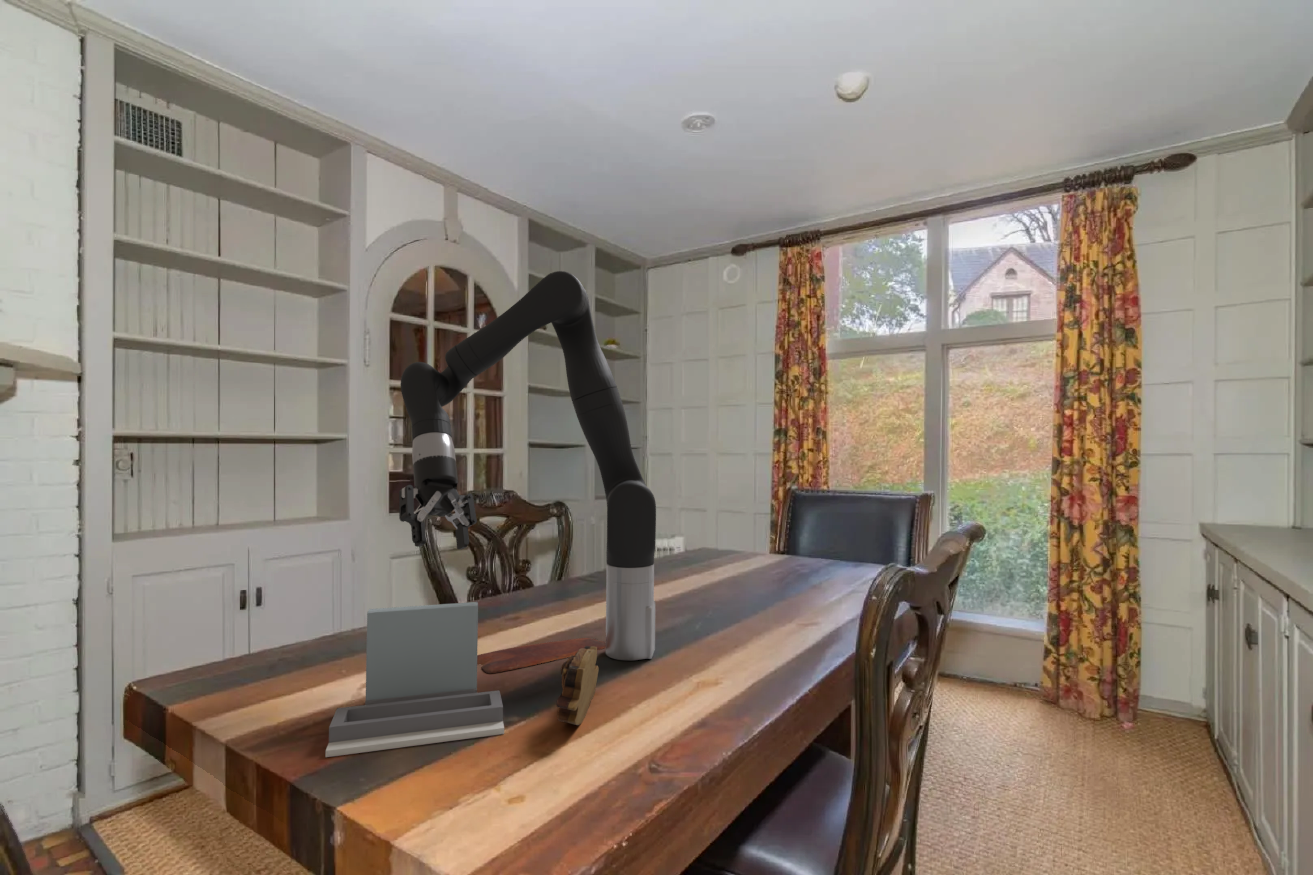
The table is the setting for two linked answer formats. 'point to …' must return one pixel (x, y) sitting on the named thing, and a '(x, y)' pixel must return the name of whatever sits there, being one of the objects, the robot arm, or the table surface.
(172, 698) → the table surface
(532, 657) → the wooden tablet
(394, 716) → the track
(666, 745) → the table surface
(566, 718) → the wooden carving
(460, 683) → the grey panel
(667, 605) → the table surface
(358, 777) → the table surface
